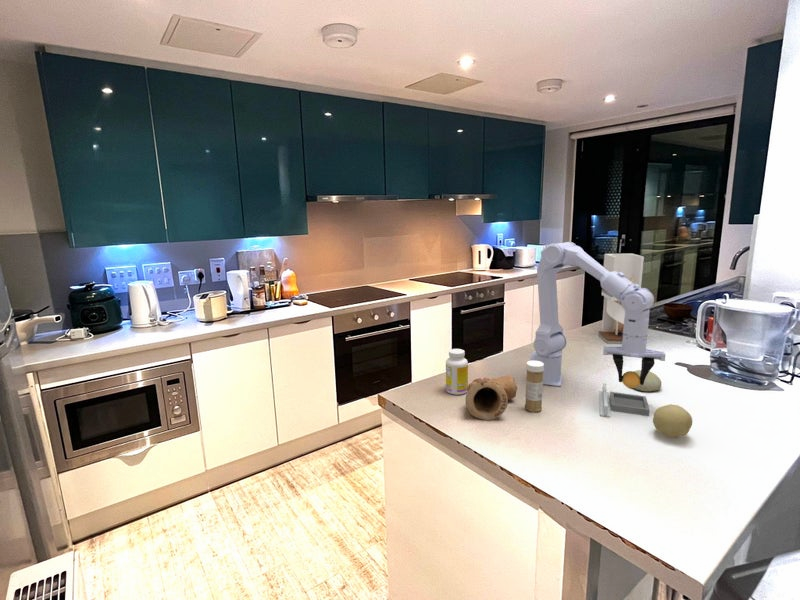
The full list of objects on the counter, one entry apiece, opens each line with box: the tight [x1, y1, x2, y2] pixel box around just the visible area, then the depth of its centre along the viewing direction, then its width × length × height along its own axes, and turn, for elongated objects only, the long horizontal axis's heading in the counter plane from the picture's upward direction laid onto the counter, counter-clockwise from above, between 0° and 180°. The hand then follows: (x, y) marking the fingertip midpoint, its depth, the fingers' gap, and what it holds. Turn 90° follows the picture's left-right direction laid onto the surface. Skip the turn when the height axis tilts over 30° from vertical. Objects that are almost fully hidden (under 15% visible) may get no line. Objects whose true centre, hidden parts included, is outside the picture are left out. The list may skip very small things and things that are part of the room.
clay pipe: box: [465, 375, 518, 421], centre depth 117 cm, size 19×11×15 cm
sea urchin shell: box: [633, 369, 663, 392], centre depth 129 cm, size 9×8×8 cm
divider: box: [598, 382, 611, 418], centre depth 119 cm, size 2×16×3 cm, turn 156°
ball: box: [621, 370, 641, 389], centre depth 116 cm, size 4×4×4 cm
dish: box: [609, 391, 651, 417], centre depth 117 cm, size 9×9×2 cm
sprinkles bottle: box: [524, 360, 544, 413], centre depth 116 cm, size 5×5×14 cm
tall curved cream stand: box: [598, 253, 645, 345], centre depth 172 cm, size 11×11×35 cm
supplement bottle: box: [445, 348, 469, 396], centre depth 129 cm, size 7×7×13 cm
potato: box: [652, 404, 693, 439], centre depth 101 cm, size 8×8×8 cm
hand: (630, 382), depth 116 cm, fingers closed on ball, 4 cm apart
